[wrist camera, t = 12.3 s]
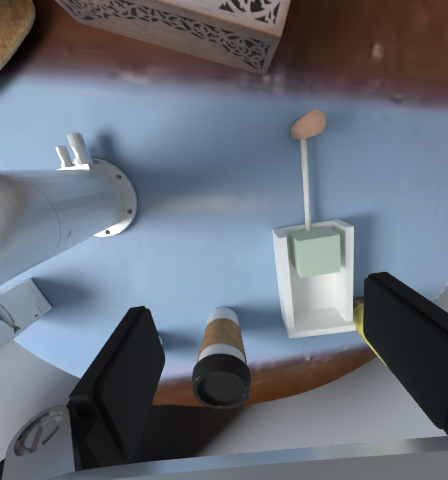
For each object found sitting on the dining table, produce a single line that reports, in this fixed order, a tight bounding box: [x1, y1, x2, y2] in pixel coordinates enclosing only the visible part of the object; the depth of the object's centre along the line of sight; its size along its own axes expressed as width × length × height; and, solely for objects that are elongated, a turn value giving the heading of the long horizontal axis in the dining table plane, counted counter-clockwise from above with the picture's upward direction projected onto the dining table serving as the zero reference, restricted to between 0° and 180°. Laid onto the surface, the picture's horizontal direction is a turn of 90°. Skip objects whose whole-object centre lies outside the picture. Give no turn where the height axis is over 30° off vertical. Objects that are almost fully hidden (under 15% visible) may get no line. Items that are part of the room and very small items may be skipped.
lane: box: [272, 219, 356, 339], centre depth 37 cm, size 18×11×6 cm, turn 10°
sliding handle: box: [289, 110, 340, 278], centre depth 32 cm, size 22×6×6 cm, turn 10°
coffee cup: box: [192, 307, 251, 409], centre depth 37 cm, size 8×8×15 cm
